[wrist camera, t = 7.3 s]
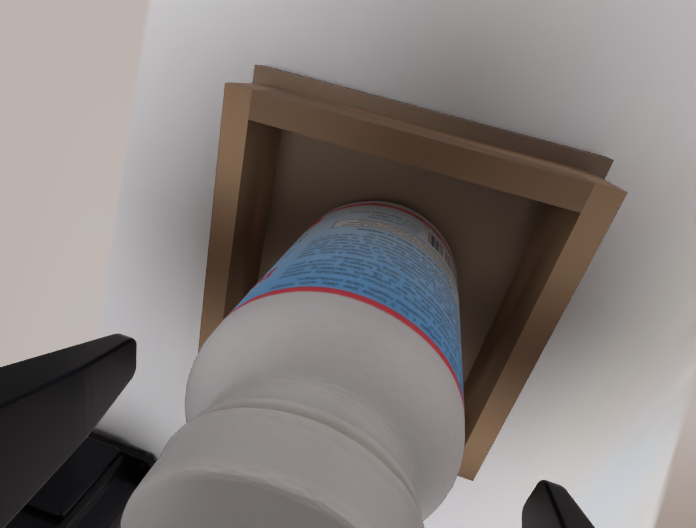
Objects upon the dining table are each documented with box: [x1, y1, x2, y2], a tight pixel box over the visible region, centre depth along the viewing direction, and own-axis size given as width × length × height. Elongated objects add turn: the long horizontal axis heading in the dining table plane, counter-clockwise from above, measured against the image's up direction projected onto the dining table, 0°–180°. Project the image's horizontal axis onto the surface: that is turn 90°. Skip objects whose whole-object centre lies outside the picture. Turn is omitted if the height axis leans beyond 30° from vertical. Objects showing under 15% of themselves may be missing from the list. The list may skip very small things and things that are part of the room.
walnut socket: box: [198, 65, 627, 481], centre depth 15 cm, size 12×12×4 cm
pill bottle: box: [121, 201, 465, 528], centre depth 11 cm, size 6×6×11 cm
